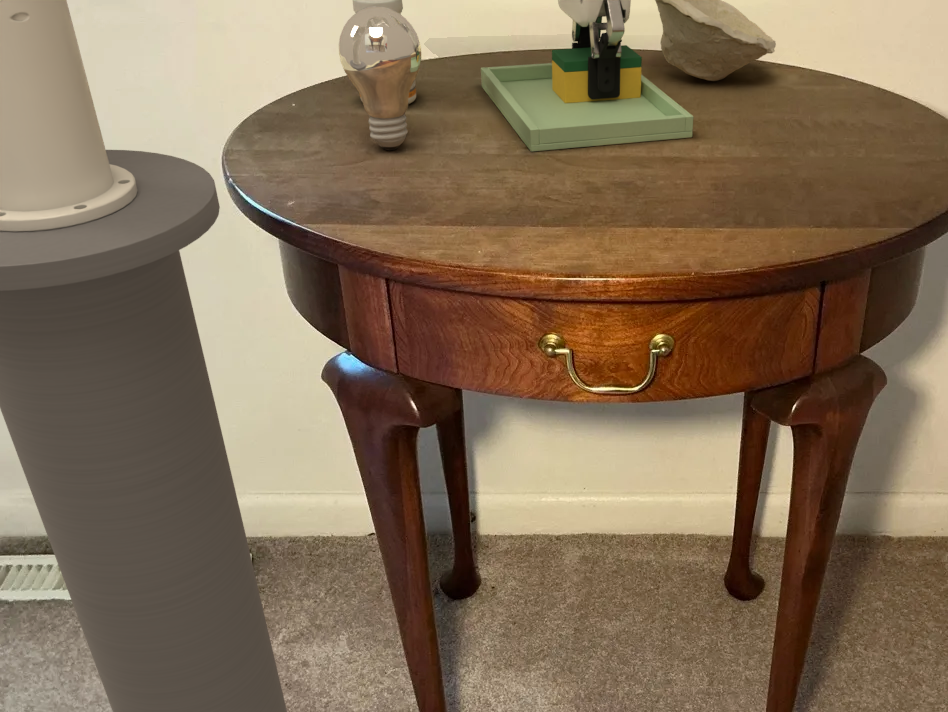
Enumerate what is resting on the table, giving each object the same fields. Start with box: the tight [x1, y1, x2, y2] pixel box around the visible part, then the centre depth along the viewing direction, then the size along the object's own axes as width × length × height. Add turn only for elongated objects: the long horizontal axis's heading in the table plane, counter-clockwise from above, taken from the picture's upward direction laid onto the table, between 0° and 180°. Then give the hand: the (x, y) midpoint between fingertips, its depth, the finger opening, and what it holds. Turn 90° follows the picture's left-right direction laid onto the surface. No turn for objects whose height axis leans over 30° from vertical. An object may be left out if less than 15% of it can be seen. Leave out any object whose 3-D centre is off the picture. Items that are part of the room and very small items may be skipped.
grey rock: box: [654, 0, 777, 82], centre depth 113 cm, size 15×14×10 cm
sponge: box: [551, 44, 643, 103], centre depth 107 cm, size 8×5×4 cm, turn 107°
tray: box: [480, 62, 694, 153], centre depth 105 cm, size 16×22×2 cm
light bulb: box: [338, 7, 422, 151], centre depth 91 cm, size 7×7×12 cm
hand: (595, 87), depth 108 cm, fingers closed on sponge, 5 cm apart
